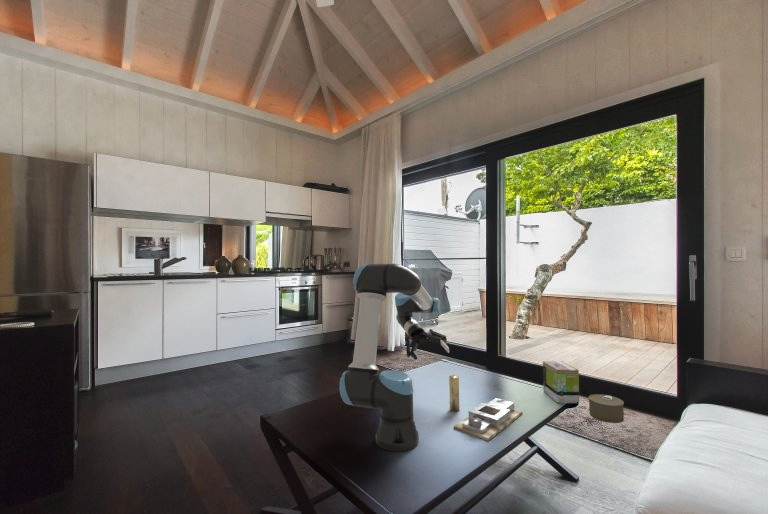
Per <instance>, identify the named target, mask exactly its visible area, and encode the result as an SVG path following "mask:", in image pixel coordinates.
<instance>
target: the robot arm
mask: <svg viewBox="0 0 768 514" xmlns="http://www.w3.org/2000/svg"><path fill="white" fill-rule="evenodd" d="M352 284H353V289H354V291H355V292H356V296H357V297H358V299H360V300H359V306H358V307H359V308H358V317H357V325H356V334H355V342H354V348H353V349H354V351H353V359H352V362H351V363H350V364H349V365H348V366H347V367H348V368H347V370H344V372H343V373H342V374H341V377H340V379H339V394H340V398H341V400H342V401H343V403H344V404H346V405H349V406H353V407H360V408H361V407H362V408H367V409H373V410H379V411H380V419H379V422H378V424H377V425H378V426H377V430H376V433H375V443H376V445H377V446H378V447H379V448H381V449H383V450H385V451H390V452H398V453H399V452H407V451H410V450H412V449H414V448H415V447H417V446H418V444H419V442H420V439H419V437H420V436H419V431H418V430H417V427H416V422H415V420H414V386H413V380H412V378H411V376H410V375H409V374H407V373H405V372H403V371H400V370H393V369H391V370H390V369H389V370H388V369H387V370H383V371H381V372H380V373H379V371H380V369H379V367H378V366H377V364H376V362H377V361H376V360H377V353H378V352H377V351H378V344H379V343H378V342H379V341H378V340H379V332H380V323H381V314H382V304H383V302H384V301H385V300H386V298H387V294H391V293H392V294H393V293H394V294H396V295H395V296H394V302H395V304H394V305H395V308H396V317H395V318H396V321H397V323H398V324H399V325H400V326H401V328H402V329H403V330H404V332H405V333H406V334H407V336H408V337H409V338H405V341H406V352H405V353H406V357H407V358H409V357H411V358H413V360H414V361H416V360H417V362H418V364H420V365H421V366H422V365H423V362H422V361H423V360H422V358H421V357H420V355H419V354H418V353H417V348H418V346H419V345H422V344H423V343H426V342H428V343H429V342H433V343H438V344H440V345H441V347H443V349H444V350H445V351H446V353H448V354H449V353H450V347H449V346H448V343H447V340H448V339H447V335H444V334H442V333H440V332H437V331H434V330H433V329H431V328H430V329H428V331H425V329H424V328H423V327H422V326H421V325H420V323H418V321H417V319H415V318H414V313H415V314H417V313H418V314H419V313H421V314H439V312H440V310H441V301H440V298H438V297H431V295H430V294H429V293H428V291H427V290H426V289H425V287H424V286H423V285H422V280H421V278H420V277H419V275H418V274H417V273H416V272H414V271H413V270H412V269H410V268H409V267H406V266H404V265H401V264H398V263H368V264H366V263H364V264H361V265H359V266H358V267H357V268H356V270H355V272H354V275H353V278H352ZM412 343H413V344H412ZM411 344H412V346H411Z"/></svg>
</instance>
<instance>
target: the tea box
mask: <svg viewBox="0 0 768 514" xmlns="http://www.w3.org/2000/svg"><path fill="white" fill-rule="evenodd" d="M542 389H543V390H542V391H543V393H545V394H546V395H547V396H548V397H550V398H551V399H552V400H553V401H555V402H556V403H557V402H567V403H566V404H580V373H579V369H578V368H576V367H574V366H572V365H570V364H569V363H566V362H564V361H563V360H562V361H561V360H560V361H559V360H556V361H552V360H551V361H549V360H547V361H542ZM577 402H578V403H577Z"/></svg>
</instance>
